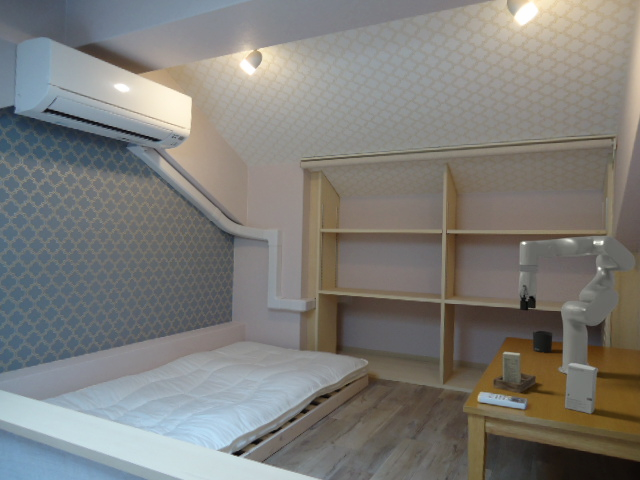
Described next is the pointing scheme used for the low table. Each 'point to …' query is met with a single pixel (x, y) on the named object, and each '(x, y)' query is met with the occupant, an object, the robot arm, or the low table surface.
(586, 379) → the skincare box
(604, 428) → the low table surface
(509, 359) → the skincare box
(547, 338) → the pen holder
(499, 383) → the two-compartment wooden shelf
